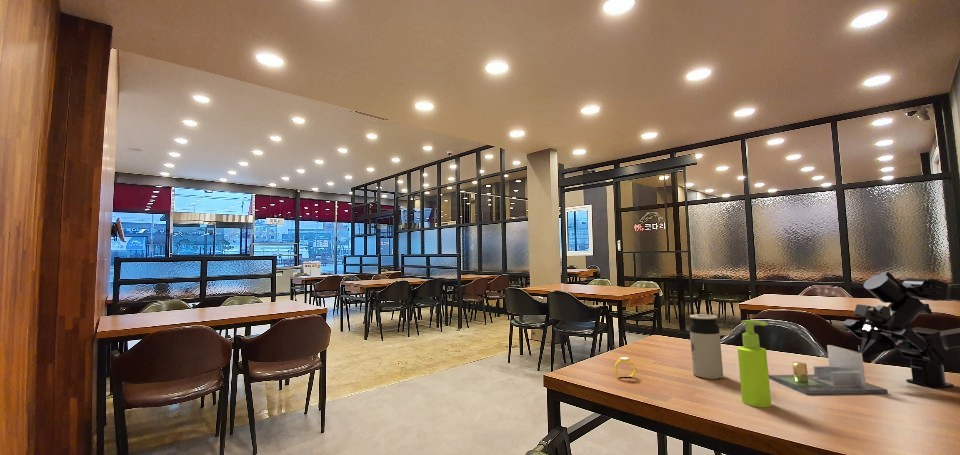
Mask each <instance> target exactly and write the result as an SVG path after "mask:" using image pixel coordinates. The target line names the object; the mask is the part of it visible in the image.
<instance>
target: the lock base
mask: <svg viewBox="0 0 960 455" xmlns="http://www.w3.org/2000/svg"><path fill="white" fill-rule="evenodd" d="M792 370H793V371H792V373H793V374H768V375H769V380H771V379H772V381H774V382H777V383H779V384H781V385H783V386H785V387H788V388H790V389H792V390H795V391H797V392H799V393H802V394H804V395H811V396H812V395H813V396H815V395H871V394H872V395H876V394H878V395H882V394H883V395H884V394H886V395H888V393H889V392H888V391H889V390H888V389H886V388H883V387H881V386H878V385H875V384H871V383H868V382H866V381H865V383H866V386H860V385H857V384H832V383H831V378H815V375H814V374H808V366H807V363H804V362H800V361H799V362H798V361H794V362H793V361H792Z"/></svg>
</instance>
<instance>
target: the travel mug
mask: <svg viewBox="0 0 960 455" xmlns="http://www.w3.org/2000/svg"><path fill="white" fill-rule="evenodd" d="M689 318H690V321H691V322H690V325H689V335H690V336H689V338H690V348H691V350H690V351H691V361H692V362H691V363H692V374H693V375H694V376H696V377H697V376H698V377H697V378H700V377H702V378H701V379H705V378H708V379H707V380H719V378H720V379H722V378H723V377H724V368H723V357H722V356H723V355H722V346H721V334H720V327H719V325H718V323H717V320H718V316H717V315H715V314H704V313H703V314H701V313H700V314H697V313H696V314H695V313H694V314H690V315H689Z"/></svg>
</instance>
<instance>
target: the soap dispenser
mask: <svg viewBox="0 0 960 455" xmlns="http://www.w3.org/2000/svg"><path fill="white" fill-rule="evenodd" d="M740 323H741V324H744V325H745V332H743V333H742V334H741V335H742V336H741V337H742V346H737V356H738V367H739V368H738V369H739V379H740V392H741V401H742V403H743V404H745V405H748V406H752V407H755V408H756V407H757V408H770V407H771V406H772V399H771V389H770V379H769V375H770V374H769V367H768V366H769V365H768V354H767V348H763V347H761V346H760V336H759V334H758V333H756V332H755V326H754V325H758V326H761V327H765V326H768V325H769V323H767V322H765V321H761V320H753V319H752V320H751V319H750V320H749V319H745V320H741V322H740Z"/></svg>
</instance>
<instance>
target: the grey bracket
mask: <svg viewBox="0 0 960 455" xmlns="http://www.w3.org/2000/svg"><path fill="white" fill-rule="evenodd" d="M826 347H827V348H826V349H827V359H828V365H820V366H819V365H818V366H816V365H815V366H813V373H814V375H815V378H831V383H832V384H857V385H860V386H866V383H867V382H866V376H865V375H866V374H865V368H864V367H865V366H864V358H863V357H862V353H860V351H856V350H852V349H847V348H843V347H839V346H835V345H831V344H827V345H826ZM865 382H866V383H865Z"/></svg>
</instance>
